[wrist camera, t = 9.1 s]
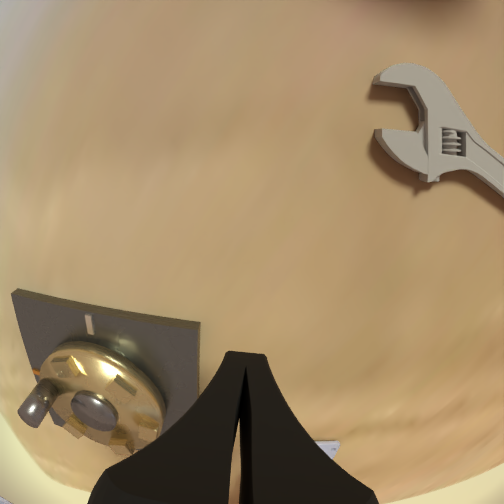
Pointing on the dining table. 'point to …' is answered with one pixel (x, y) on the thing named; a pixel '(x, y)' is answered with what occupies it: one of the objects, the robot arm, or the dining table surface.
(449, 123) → the adjustable wrench
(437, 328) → the dining table surface
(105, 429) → the rotary dial knob
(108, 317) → the base plate
